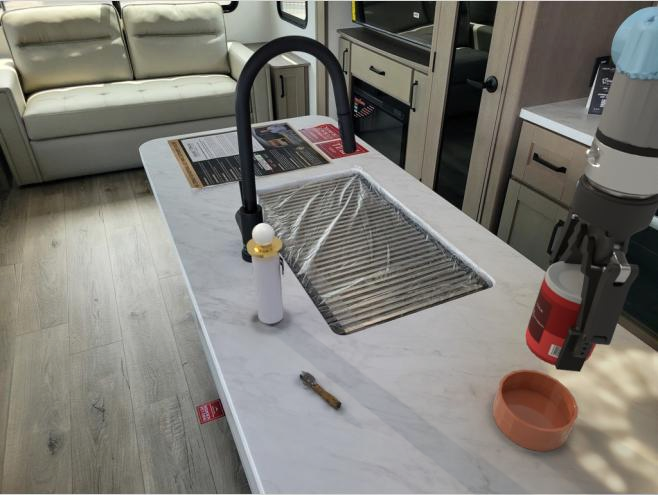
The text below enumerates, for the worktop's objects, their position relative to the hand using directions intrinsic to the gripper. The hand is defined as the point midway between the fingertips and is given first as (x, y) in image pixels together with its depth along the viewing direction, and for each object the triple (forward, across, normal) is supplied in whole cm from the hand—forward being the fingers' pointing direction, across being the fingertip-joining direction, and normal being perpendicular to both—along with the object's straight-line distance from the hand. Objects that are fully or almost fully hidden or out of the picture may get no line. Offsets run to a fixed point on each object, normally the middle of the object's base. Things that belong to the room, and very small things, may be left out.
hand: (558, 342), depth 61 cm
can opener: (+15, -1, -31) cm, 35 cm away
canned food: (+1, 0, 0) cm, 1 cm away
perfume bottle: (+16, -16, -42) cm, 47 cm away
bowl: (+15, 0, 0) cm, 15 cm away
